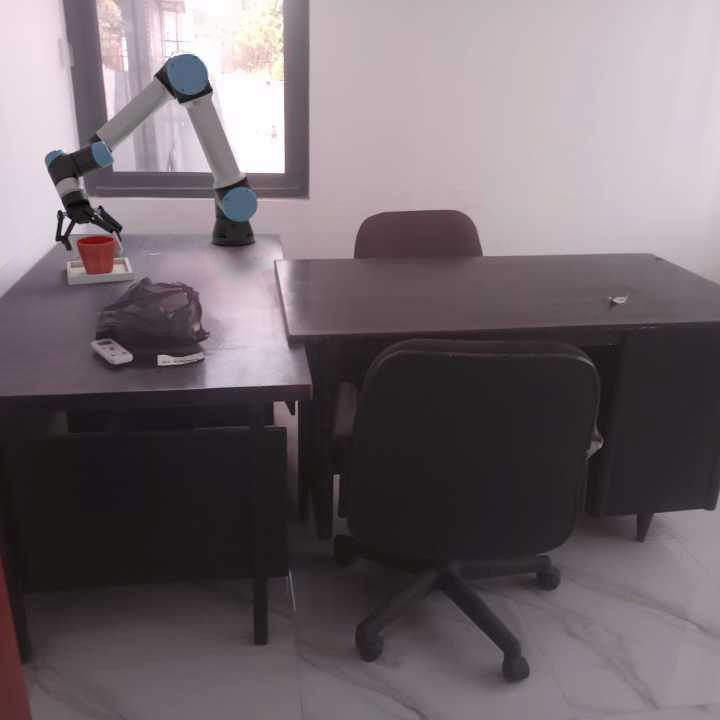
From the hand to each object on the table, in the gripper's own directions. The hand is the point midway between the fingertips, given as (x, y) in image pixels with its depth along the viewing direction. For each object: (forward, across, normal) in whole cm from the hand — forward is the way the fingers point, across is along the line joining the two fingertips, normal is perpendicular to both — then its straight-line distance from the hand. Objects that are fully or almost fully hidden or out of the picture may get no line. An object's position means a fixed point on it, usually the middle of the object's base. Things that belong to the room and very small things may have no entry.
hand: (99, 255), depth 222 cm
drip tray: (+3, 0, -6) cm, 6 cm away
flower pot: (+3, 0, -5) cm, 6 cm away
